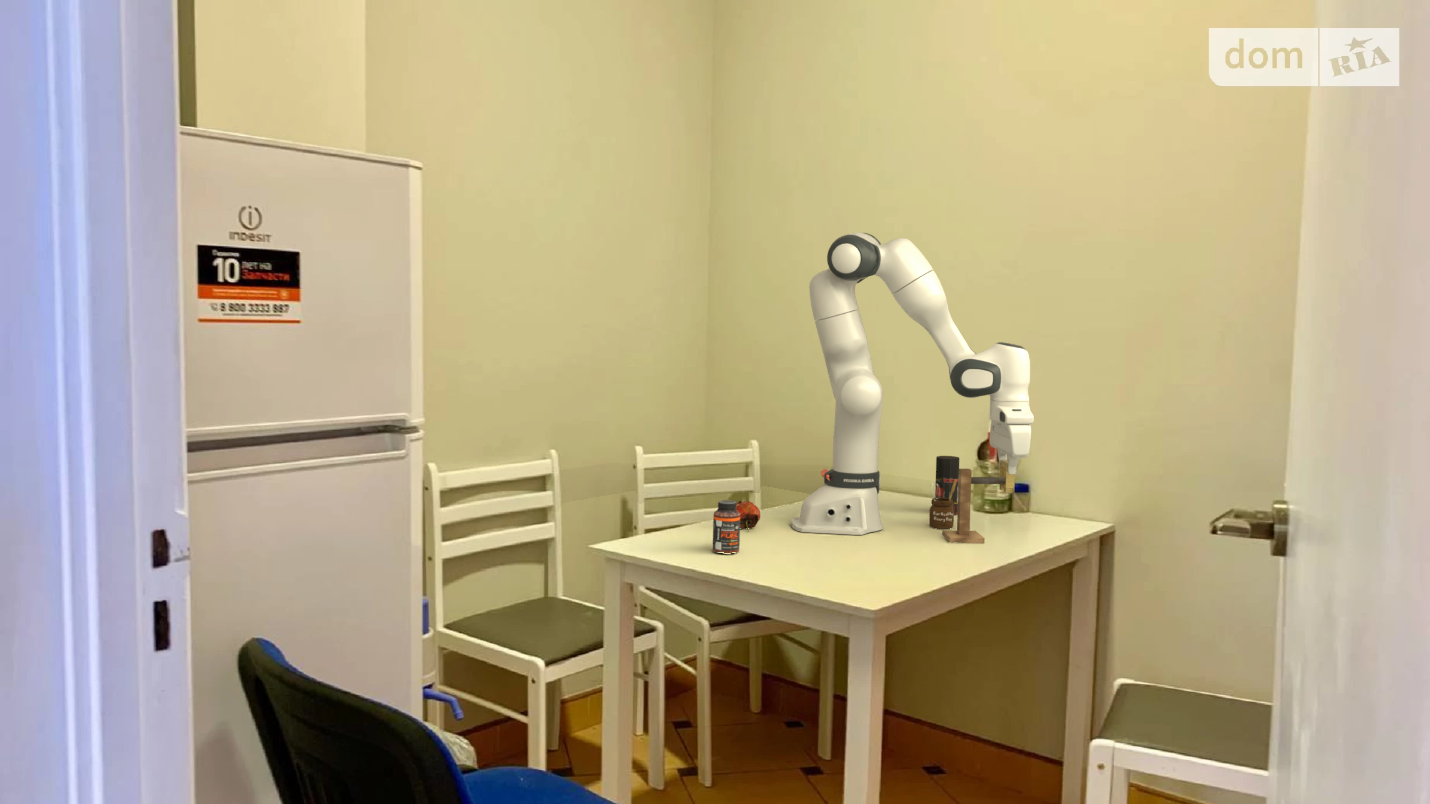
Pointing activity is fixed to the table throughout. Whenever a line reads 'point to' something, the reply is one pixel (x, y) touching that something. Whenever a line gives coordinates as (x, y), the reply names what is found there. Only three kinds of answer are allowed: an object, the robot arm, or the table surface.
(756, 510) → the pomegranate
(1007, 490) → the tan wooden arch piece
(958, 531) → the stand
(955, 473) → the deodorant
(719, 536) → the supplement bottle
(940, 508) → the utensil holder
